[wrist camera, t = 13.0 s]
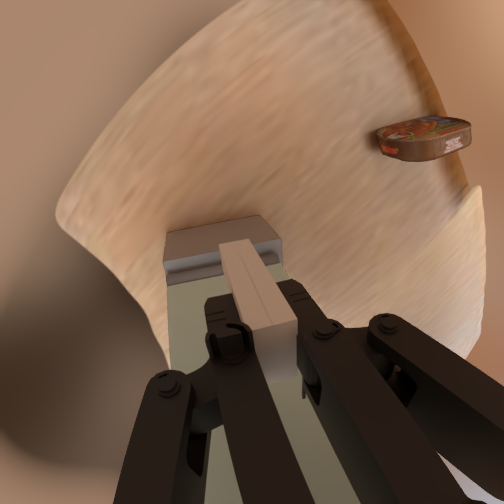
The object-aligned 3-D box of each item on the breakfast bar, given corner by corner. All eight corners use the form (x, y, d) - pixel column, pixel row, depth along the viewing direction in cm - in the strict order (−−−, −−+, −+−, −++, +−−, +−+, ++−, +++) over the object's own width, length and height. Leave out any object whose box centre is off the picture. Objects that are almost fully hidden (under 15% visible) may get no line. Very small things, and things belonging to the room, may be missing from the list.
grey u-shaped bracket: (274, 371, 40) (288, 405, 34) (212, 385, 39) (219, 421, 32) (259, 215, 29) (281, 238, 23) (167, 232, 28) (162, 262, 22)
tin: (436, 114, 29) (481, 119, 22) (439, 134, 30) (484, 142, 23) (362, 132, 28) (411, 138, 21) (367, 157, 30) (416, 169, 22)
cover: (408, 531, 6) (421, 531, 5) (224, 590, 4) (219, 597, 3) (275, 262, 24) (274, 249, 23) (170, 284, 23) (165, 271, 22)
